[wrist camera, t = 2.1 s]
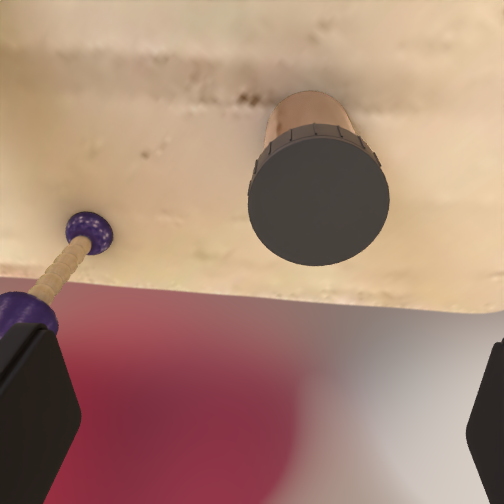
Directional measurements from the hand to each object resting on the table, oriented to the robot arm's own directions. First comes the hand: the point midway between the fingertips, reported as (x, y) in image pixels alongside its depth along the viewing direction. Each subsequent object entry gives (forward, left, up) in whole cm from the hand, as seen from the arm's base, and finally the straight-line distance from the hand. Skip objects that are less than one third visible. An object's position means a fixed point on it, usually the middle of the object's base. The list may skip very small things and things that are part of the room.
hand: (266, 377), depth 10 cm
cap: (+3, -2, -15) cm, 16 cm away
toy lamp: (-13, -16, -29) cm, 35 cm away
